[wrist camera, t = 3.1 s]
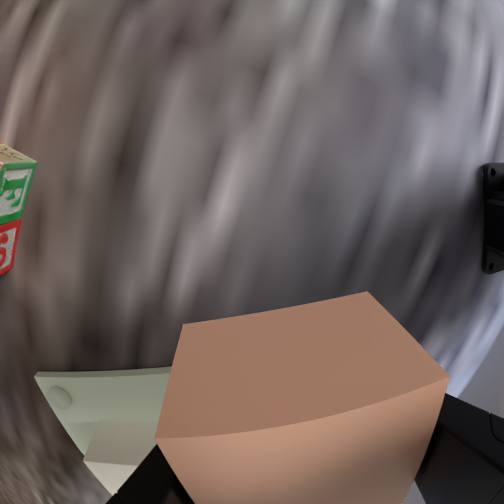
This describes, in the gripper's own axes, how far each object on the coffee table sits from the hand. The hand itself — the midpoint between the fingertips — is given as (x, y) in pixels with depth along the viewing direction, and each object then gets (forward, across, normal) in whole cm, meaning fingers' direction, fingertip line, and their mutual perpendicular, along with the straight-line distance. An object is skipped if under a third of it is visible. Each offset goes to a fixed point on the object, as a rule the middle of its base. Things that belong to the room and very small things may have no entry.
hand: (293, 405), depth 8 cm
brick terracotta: (+1, 0, 0) cm, 1 cm away
